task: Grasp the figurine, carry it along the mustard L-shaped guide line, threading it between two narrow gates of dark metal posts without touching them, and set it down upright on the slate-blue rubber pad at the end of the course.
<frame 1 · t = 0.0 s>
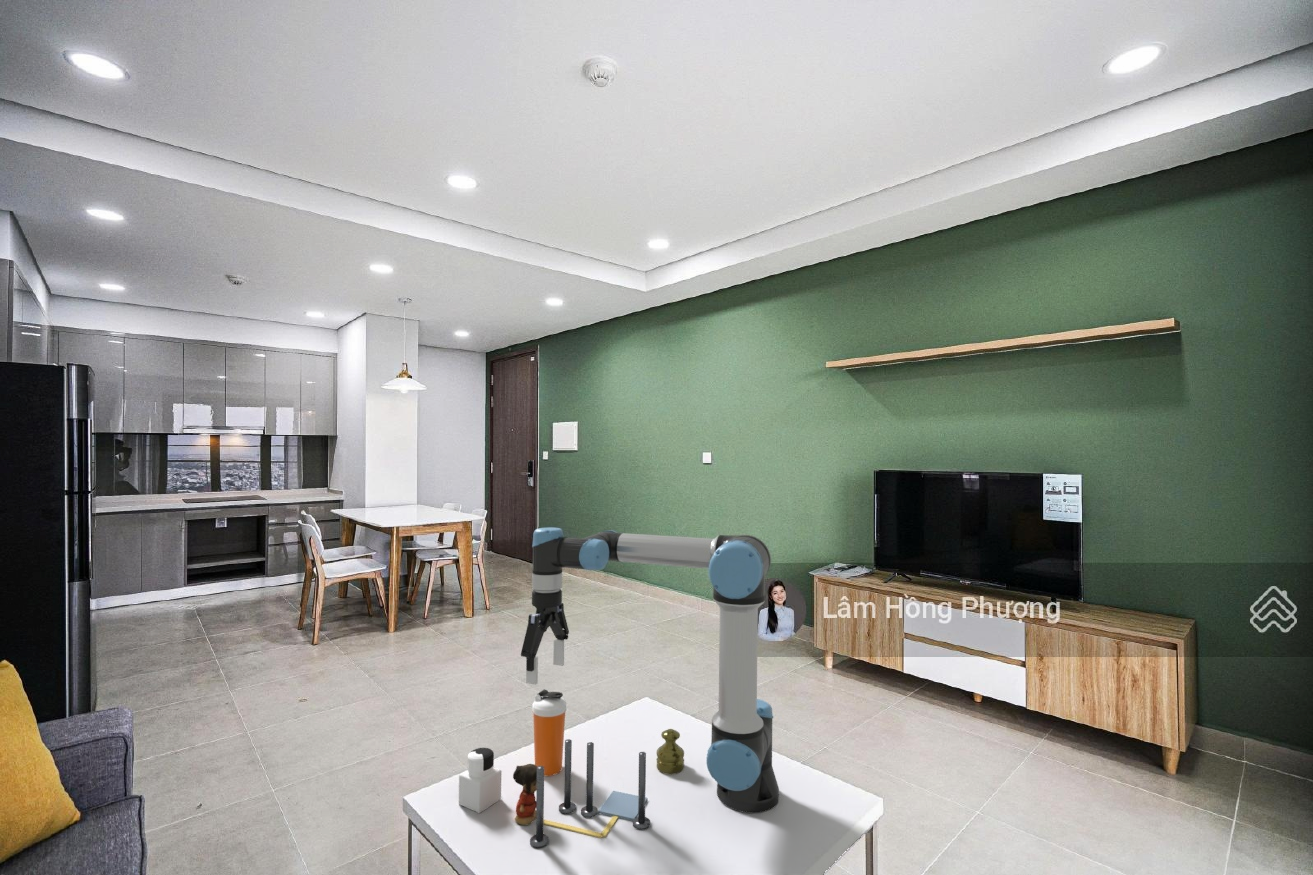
hand: (545, 673, 157), 28 cm above the table, fingers open, 13 cm apart
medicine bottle: (480, 802, 149), on the table
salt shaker: (670, 768, 166), on the table
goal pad: (623, 806, 147), on the table
guide line: (602, 836, 136), on the table
gate b: (615, 818, 143), on the table
gate a: (554, 825, 140), on the table
shaker bottle: (548, 769, 164), on the table
figurine: (526, 819, 142), on the table
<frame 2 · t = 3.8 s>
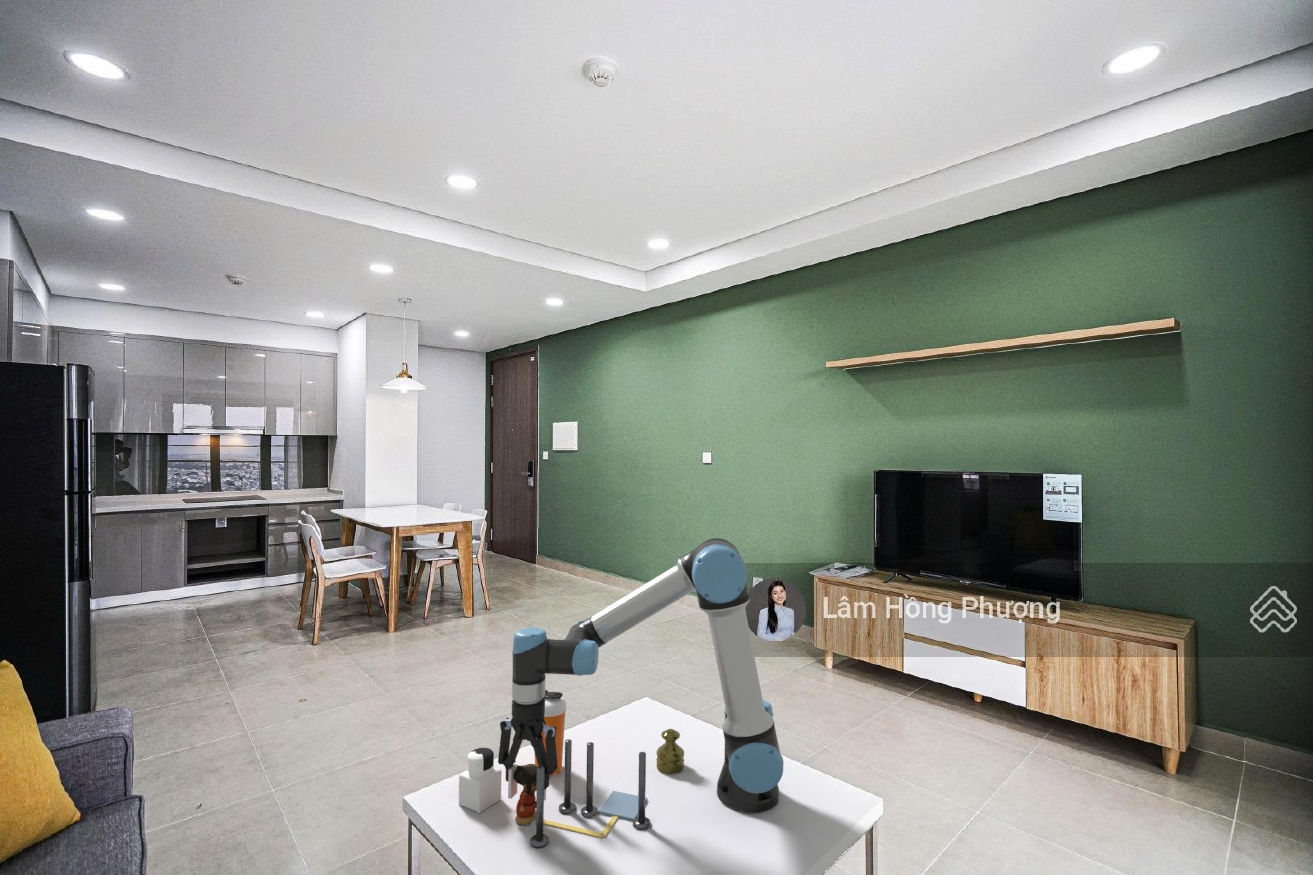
hand: (527, 798, 142), 5 cm above the table, fingers closed on figurine, 7 cm apart
figurine: (526, 819, 142), on the table, touching gripper
everything else where it was.
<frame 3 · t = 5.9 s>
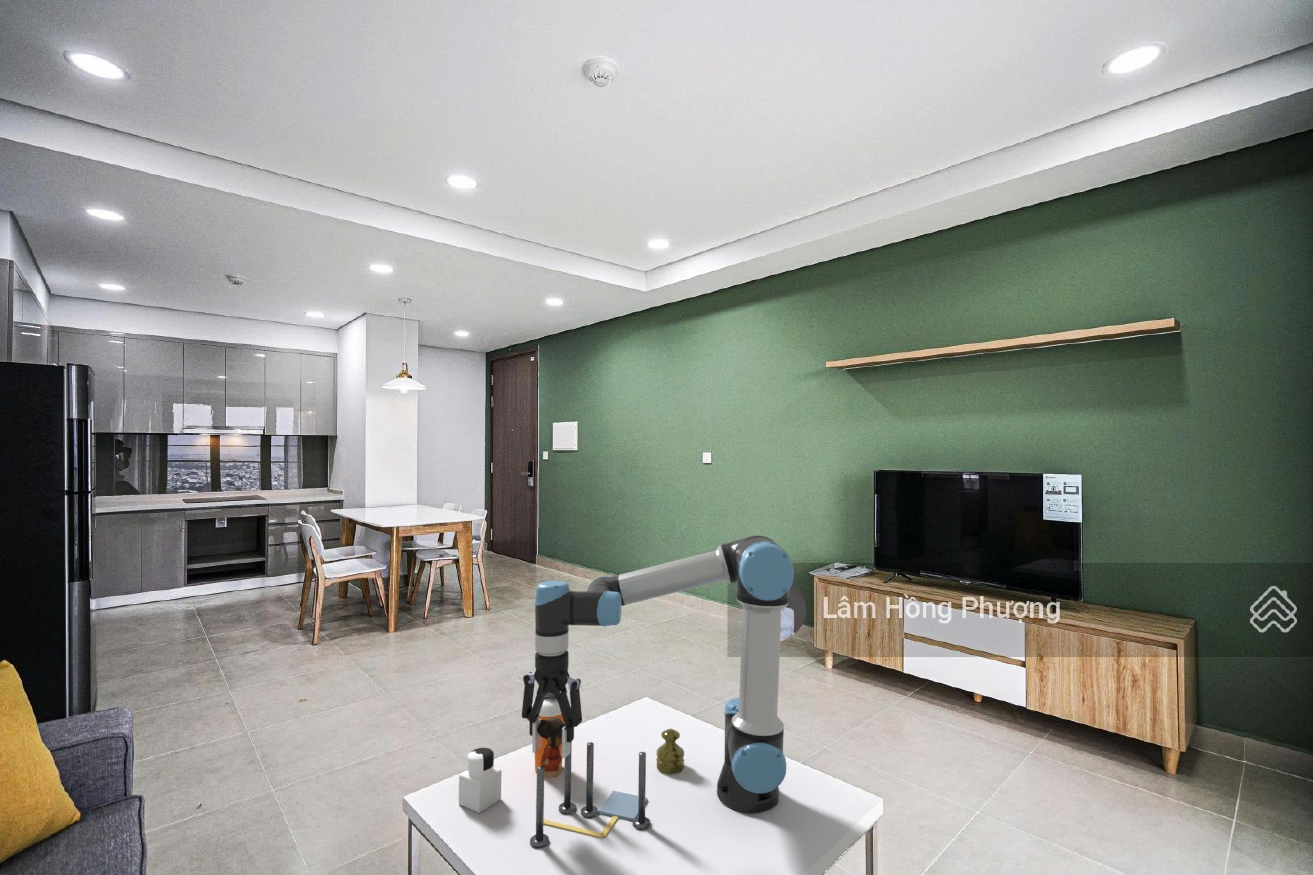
hand: (551, 752, 141), 16 cm above the table, fingers closed on figurine, 7 cm apart
figurine: (551, 773, 140), point 11 cm above the table, touching gripper
everything else where it was.
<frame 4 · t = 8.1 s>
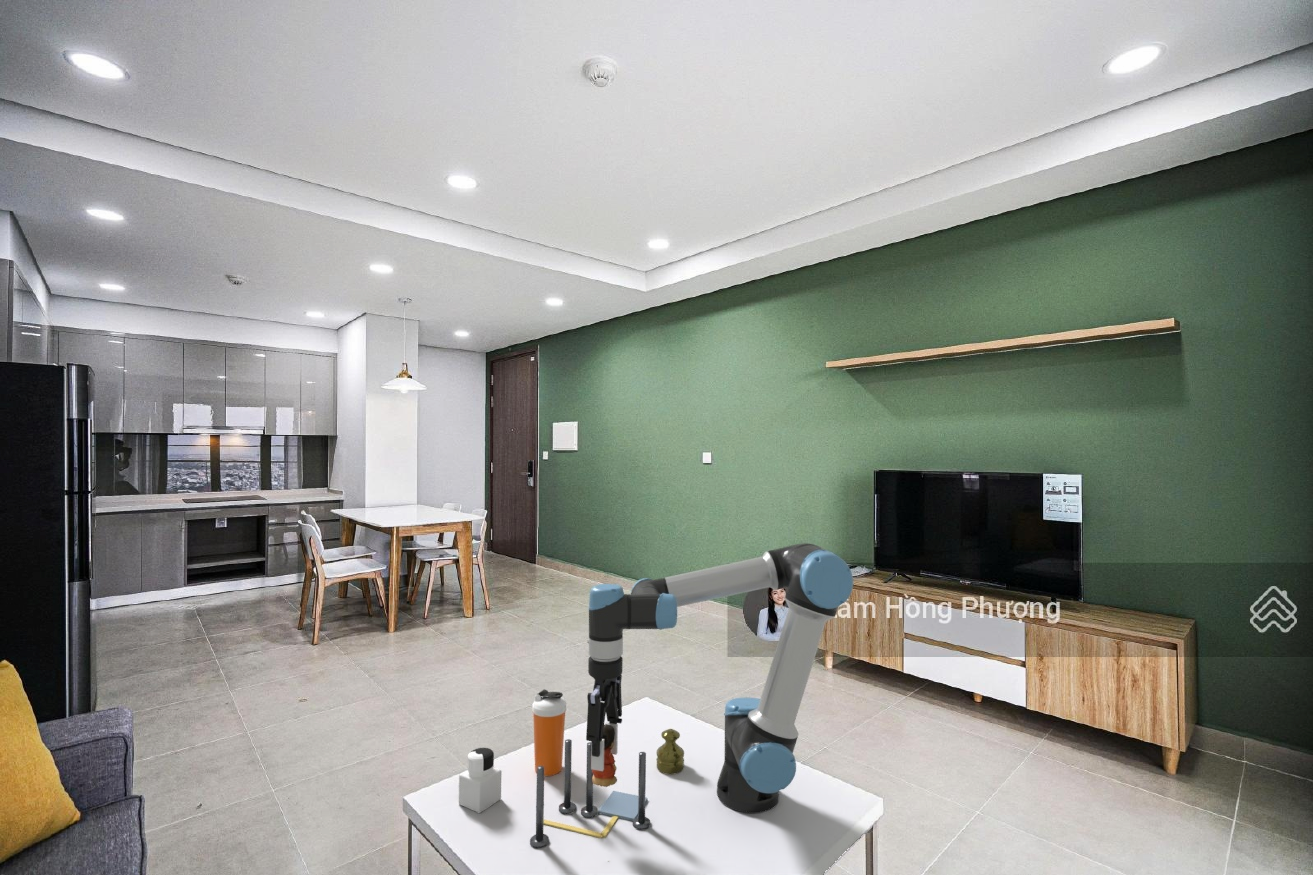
hand: (604, 760, 136), 16 cm above the table, fingers closed on figurine, 7 cm apart
figurine: (604, 782, 136), point 12 cm above the table, touching gripper
everything else where it was.
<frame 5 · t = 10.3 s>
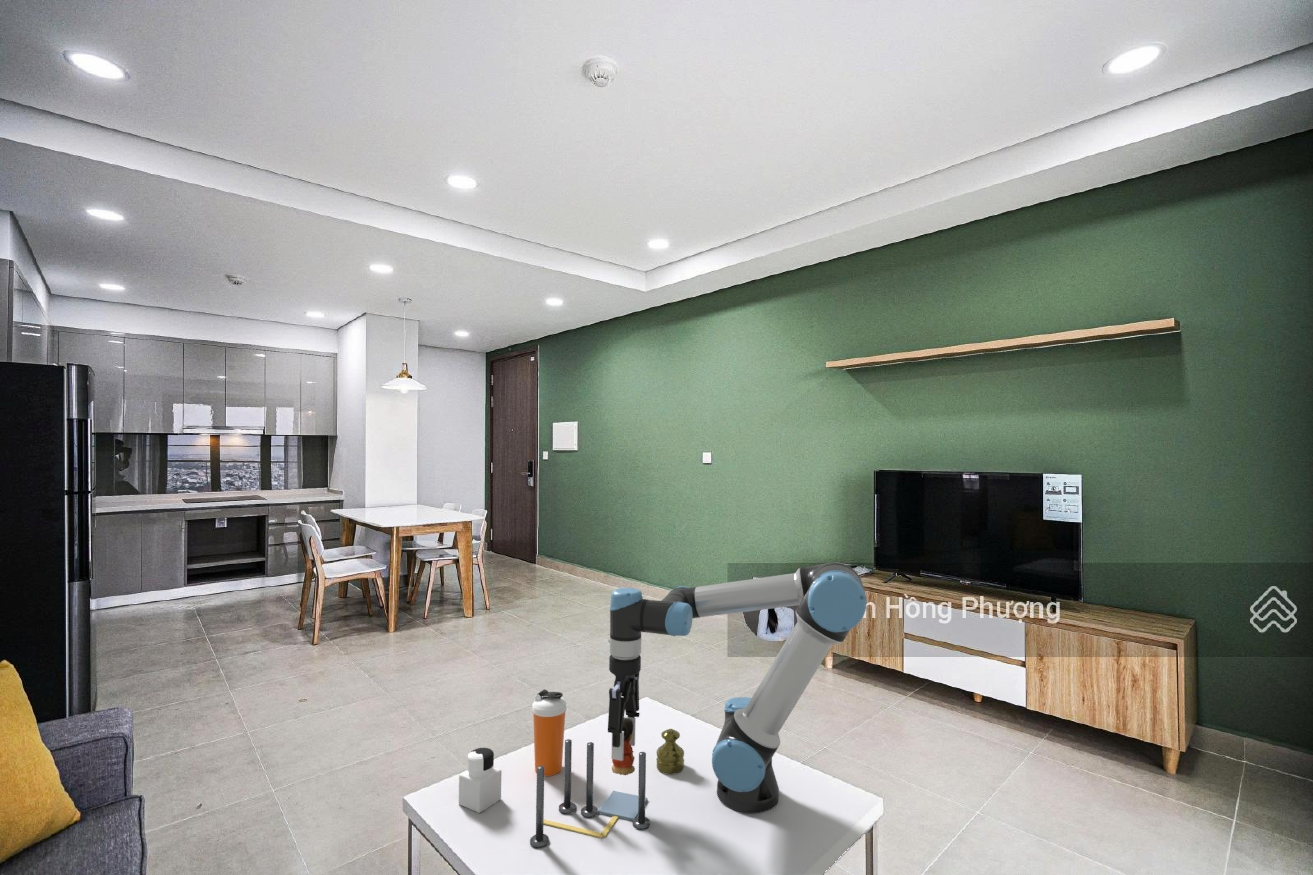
hand: (623, 751, 148), 13 cm above the table, fingers closed on figurine, 7 cm apart
figurine: (623, 771, 148), point 8 cm above the table, touching gripper
everything else where it was.
when the fingers open (6 cm above the table, at t = 12.2 s): figurine stays where it is, resting on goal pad.
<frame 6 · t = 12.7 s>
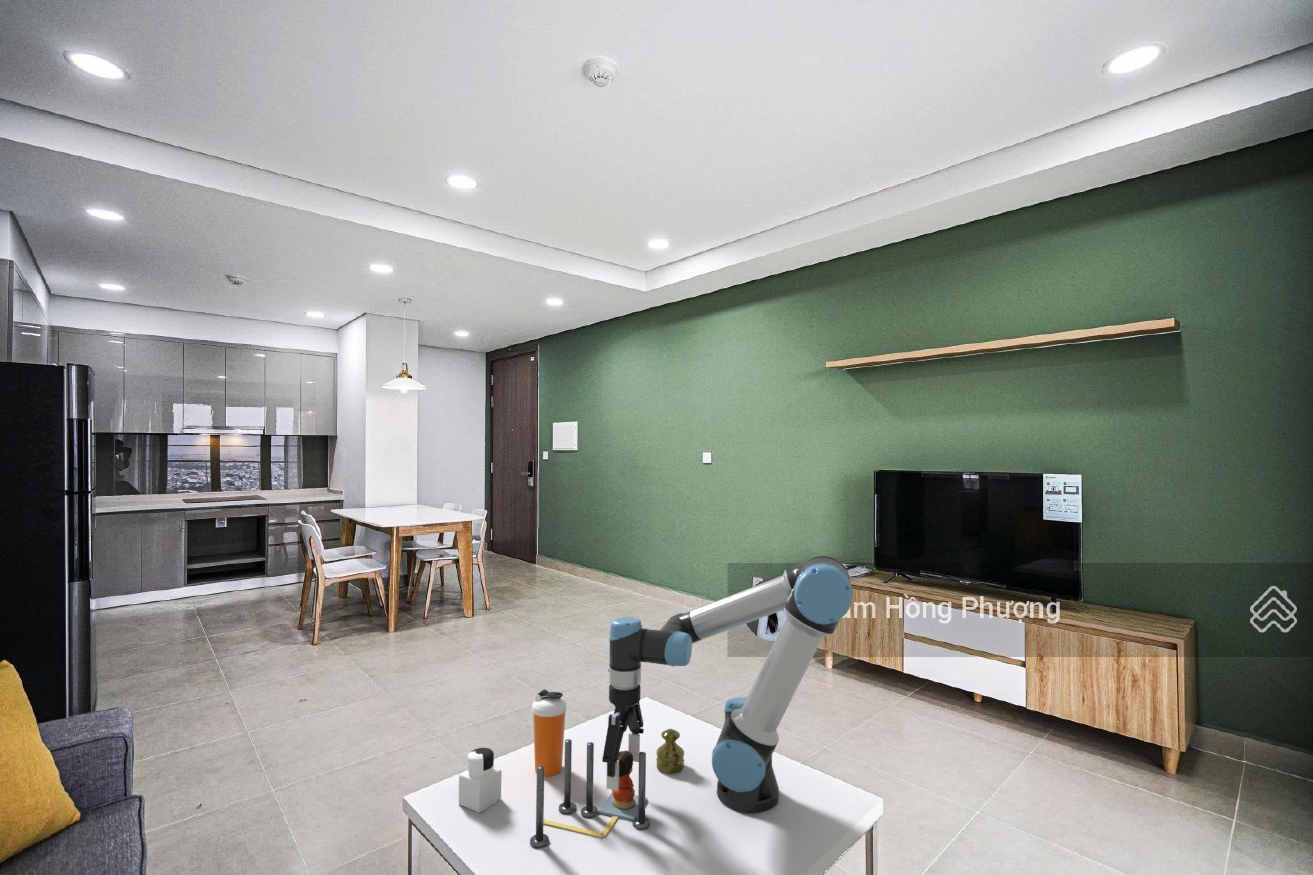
hand: (623, 774, 147), 8 cm above the table, fingers open, 13 cm apart
figurine: (623, 804, 147), resting on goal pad
everything else where it was.
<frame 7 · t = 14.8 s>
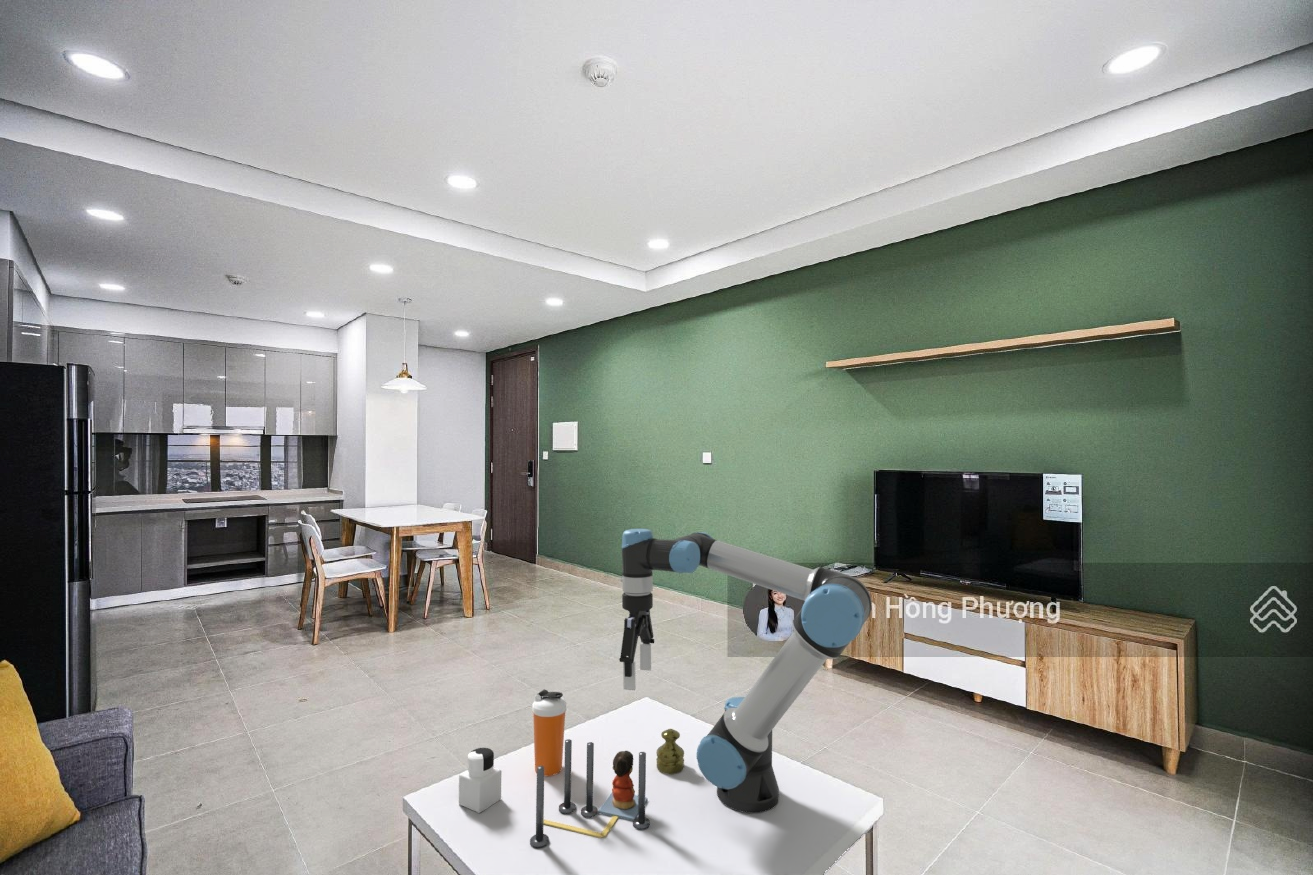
hand: (637, 679, 152), 28 cm above the table, fingers open, 13 cm apart
nothing on the table moved.
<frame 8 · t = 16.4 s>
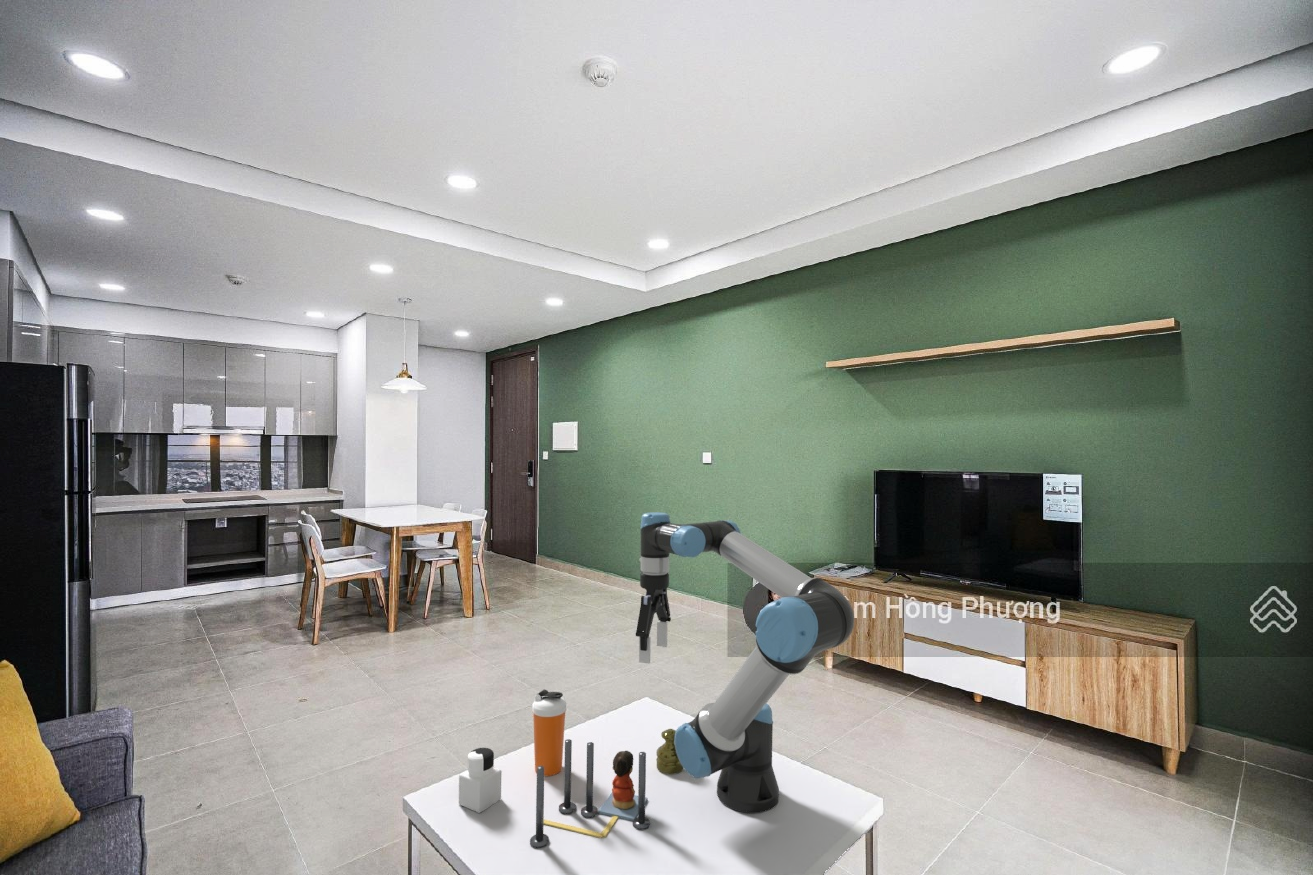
hand: (653, 654, 161), 32 cm above the table, fingers open, 13 cm apart
nothing on the table moved.
at the end: figurine inside the target area on the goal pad (0.2 cm from its centre), point 0.4 cm above the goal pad's base; figurine tilted 0°; the gripper is holding nothing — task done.
